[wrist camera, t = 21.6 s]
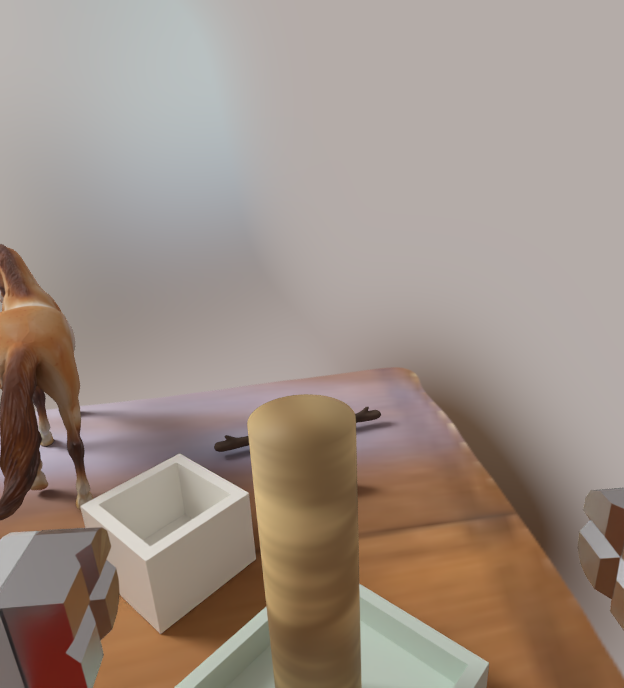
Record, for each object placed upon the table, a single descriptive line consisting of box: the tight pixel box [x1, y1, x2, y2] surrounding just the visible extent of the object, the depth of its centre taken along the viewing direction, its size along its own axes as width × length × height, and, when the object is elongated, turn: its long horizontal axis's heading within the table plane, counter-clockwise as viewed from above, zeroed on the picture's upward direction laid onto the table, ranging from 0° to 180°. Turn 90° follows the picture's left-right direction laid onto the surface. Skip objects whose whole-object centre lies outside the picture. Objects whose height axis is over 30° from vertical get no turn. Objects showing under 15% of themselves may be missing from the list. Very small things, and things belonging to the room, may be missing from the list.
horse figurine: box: [0, 244, 93, 520], centre depth 50 cm, size 31×8×21 cm, turn 23°
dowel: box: [247, 395, 362, 688], centre depth 25 cm, size 4×4×18 cm
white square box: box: [80, 454, 256, 634], centre depth 39 cm, size 8×8×6 cm
